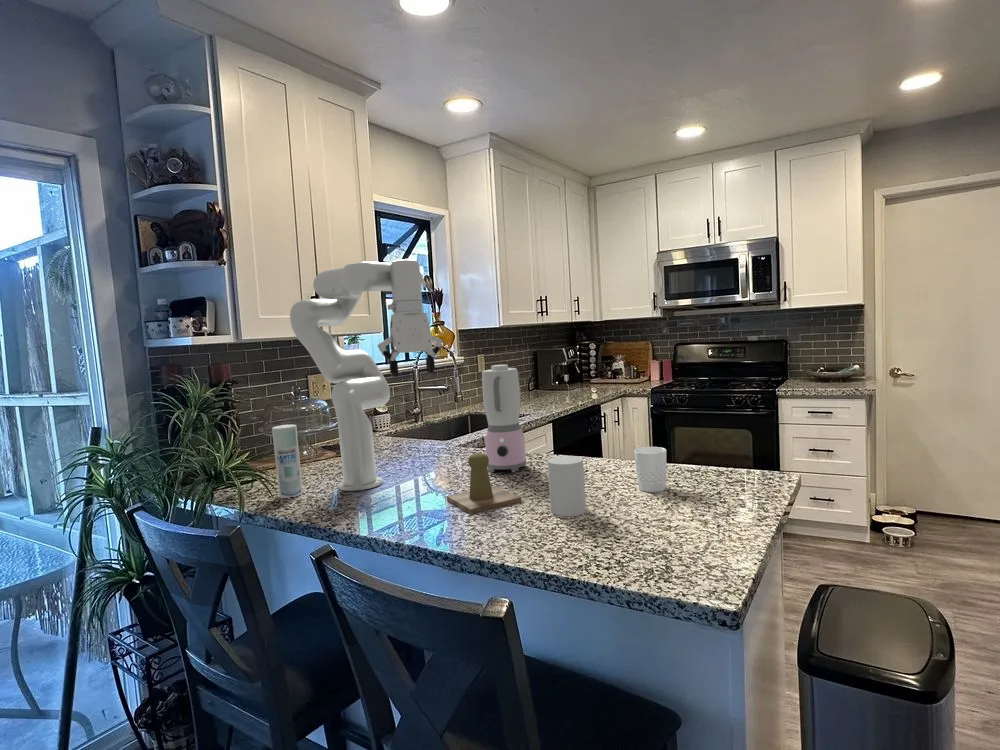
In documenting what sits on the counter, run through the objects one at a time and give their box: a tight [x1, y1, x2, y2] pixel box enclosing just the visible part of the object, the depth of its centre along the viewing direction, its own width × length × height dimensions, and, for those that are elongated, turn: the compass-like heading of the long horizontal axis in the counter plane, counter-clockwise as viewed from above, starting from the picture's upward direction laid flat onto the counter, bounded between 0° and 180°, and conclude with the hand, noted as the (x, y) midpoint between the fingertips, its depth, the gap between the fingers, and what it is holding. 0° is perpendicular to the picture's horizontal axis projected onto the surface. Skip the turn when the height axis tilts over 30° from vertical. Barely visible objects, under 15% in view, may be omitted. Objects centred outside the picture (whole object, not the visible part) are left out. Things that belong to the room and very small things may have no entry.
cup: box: [547, 455, 587, 517], centre depth 133 cm, size 8×8×12 cm
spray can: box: [271, 424, 304, 499], centre depth 164 cm, size 6×6×20 cm
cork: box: [467, 453, 493, 501], centre depth 145 cm, size 6×6×11 cm
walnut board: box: [446, 485, 522, 515], centre depth 145 cm, size 14×14×1 cm
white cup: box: [633, 446, 667, 493], centre depth 146 cm, size 8×8×10 cm
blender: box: [481, 364, 527, 473], centre depth 175 cm, size 16×12×32 cm
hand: (413, 374), depth 150 cm, fingers open, 9 cm apart
